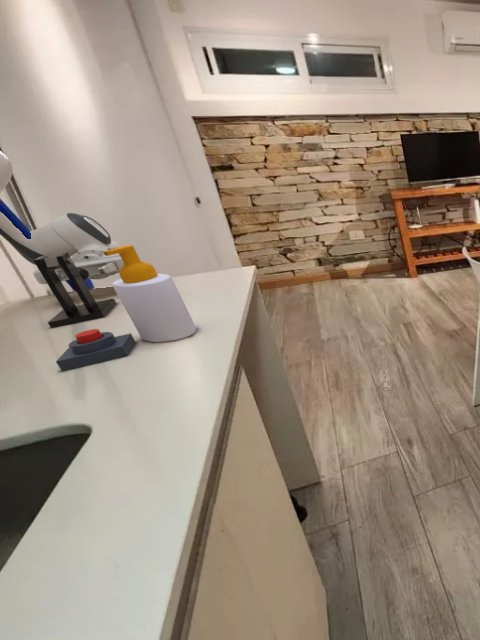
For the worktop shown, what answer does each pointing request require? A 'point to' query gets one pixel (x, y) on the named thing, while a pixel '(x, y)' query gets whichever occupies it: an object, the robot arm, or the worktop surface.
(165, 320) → the soap bottle
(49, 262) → the lever
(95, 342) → the button block
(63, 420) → the worktop surface
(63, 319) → the black stand
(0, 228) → the robot arm
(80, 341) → the button
